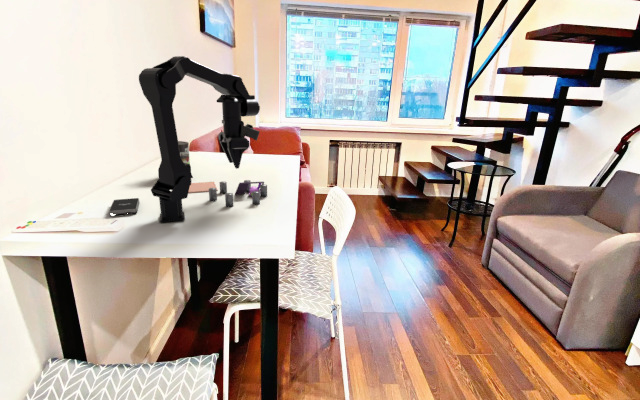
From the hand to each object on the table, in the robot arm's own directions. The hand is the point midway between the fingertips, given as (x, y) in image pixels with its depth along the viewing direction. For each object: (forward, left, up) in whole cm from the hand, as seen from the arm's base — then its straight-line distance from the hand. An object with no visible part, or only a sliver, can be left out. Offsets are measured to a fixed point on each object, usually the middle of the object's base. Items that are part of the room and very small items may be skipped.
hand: (234, 165), depth 115 cm
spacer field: (-1, -1, -11) cm, 11 cm away
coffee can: (+34, +18, -12) cm, 40 cm away
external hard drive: (-3, +33, -12) cm, 35 cm away
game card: (0, -1, -10) cm, 10 cm away
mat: (+15, +10, -11) cm, 21 cm away
